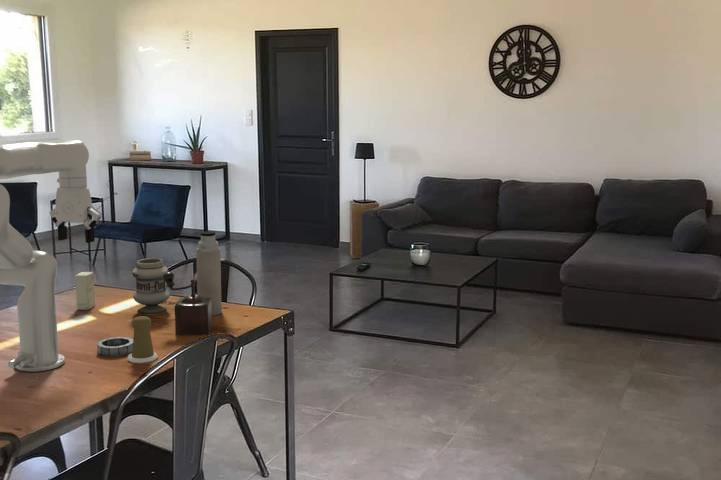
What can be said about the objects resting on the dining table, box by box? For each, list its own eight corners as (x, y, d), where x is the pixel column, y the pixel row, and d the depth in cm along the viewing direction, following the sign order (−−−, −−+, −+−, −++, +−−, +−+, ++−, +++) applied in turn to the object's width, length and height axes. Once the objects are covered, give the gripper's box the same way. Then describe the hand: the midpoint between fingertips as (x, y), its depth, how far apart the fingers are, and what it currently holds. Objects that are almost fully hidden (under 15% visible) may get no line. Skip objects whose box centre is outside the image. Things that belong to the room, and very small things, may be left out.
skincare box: (89, 310, 260) (87, 275, 258) (76, 309, 260) (74, 275, 258) (95, 305, 266) (94, 271, 264) (83, 305, 266) (81, 271, 264)
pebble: (146, 364, 207) (146, 361, 207) (121, 361, 210) (121, 358, 210) (162, 355, 215) (162, 353, 215) (138, 352, 217) (138, 349, 217)
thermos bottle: (209, 308, 264) (207, 229, 259) (226, 311, 260) (224, 231, 255) (193, 313, 258) (190, 232, 253) (210, 317, 254) (208, 235, 248)
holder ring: (120, 357, 212) (119, 349, 212) (90, 353, 215) (90, 345, 215) (140, 347, 222) (140, 339, 221) (112, 343, 225) (112, 335, 224)
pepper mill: (213, 324, 245) (212, 270, 242) (208, 335, 234) (207, 278, 231) (165, 324, 244) (163, 270, 241) (157, 335, 234) (155, 278, 230)
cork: (136, 359, 209) (135, 321, 207) (128, 353, 213) (126, 316, 211) (157, 355, 212) (156, 317, 210) (148, 349, 217) (147, 313, 215)
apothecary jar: (126, 313, 256) (123, 261, 253) (148, 305, 267) (147, 255, 264) (155, 318, 252) (153, 265, 248) (177, 309, 262) (175, 258, 259)
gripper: (39, 183, 219) (43, 241, 222) (89, 185, 213) (92, 245, 216) (57, 180, 226) (61, 236, 229) (106, 183, 220) (109, 240, 223)
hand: (76, 240), depth 223 cm, fingers open, 9 cm apart
